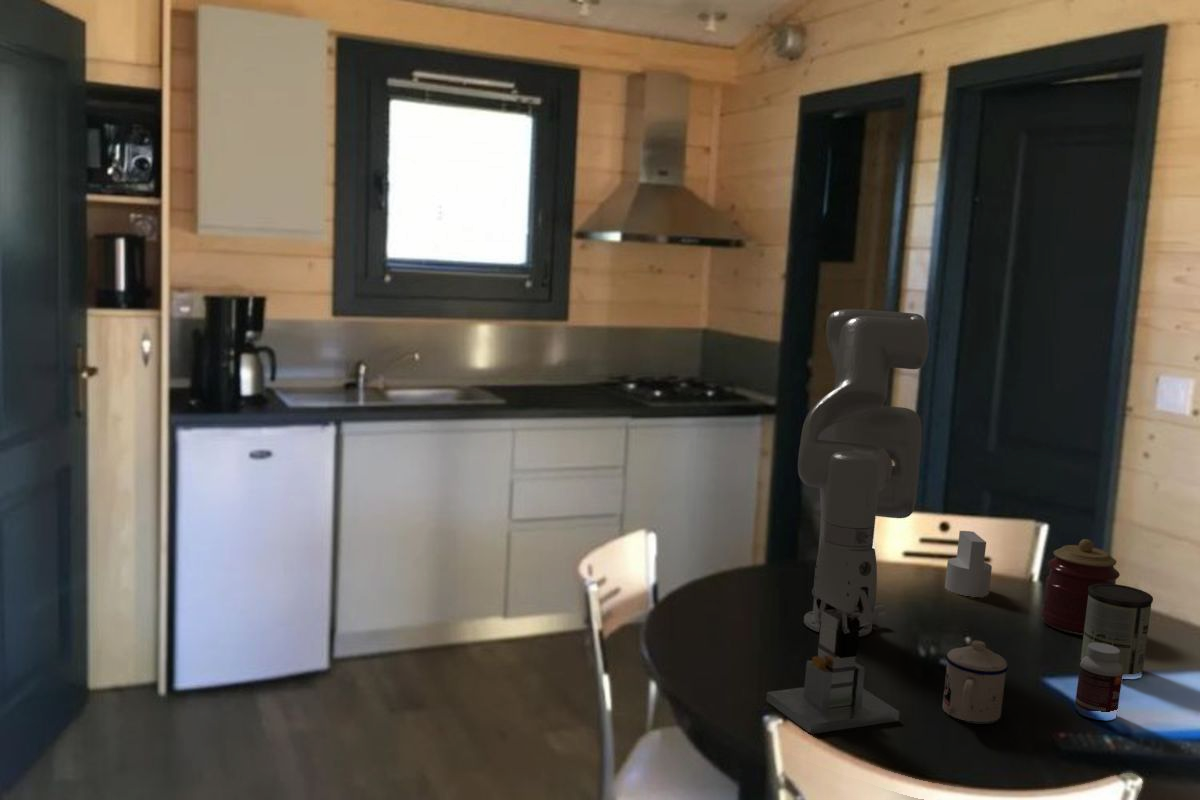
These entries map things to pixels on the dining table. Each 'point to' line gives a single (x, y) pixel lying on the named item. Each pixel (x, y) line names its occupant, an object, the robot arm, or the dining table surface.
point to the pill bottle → (1099, 679)
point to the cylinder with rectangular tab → (969, 567)
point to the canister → (1074, 583)
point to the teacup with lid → (974, 683)
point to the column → (836, 658)
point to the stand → (814, 700)
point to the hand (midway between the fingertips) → (837, 649)
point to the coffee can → (1118, 622)
